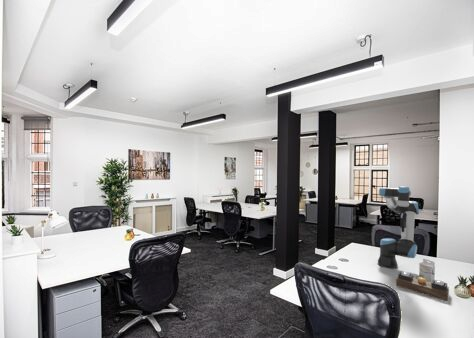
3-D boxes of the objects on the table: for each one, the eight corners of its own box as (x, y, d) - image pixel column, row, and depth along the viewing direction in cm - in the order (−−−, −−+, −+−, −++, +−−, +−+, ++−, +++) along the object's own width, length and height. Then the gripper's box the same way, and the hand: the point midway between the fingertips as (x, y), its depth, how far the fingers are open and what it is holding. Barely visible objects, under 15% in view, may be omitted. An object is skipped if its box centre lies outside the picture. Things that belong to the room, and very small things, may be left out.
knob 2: (434, 285, 167) (434, 279, 167) (444, 287, 163) (444, 281, 163) (434, 287, 163) (434, 281, 163) (443, 289, 160) (443, 283, 160)
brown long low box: (399, 280, 184) (400, 270, 184) (448, 294, 164) (448, 282, 164) (396, 285, 175) (396, 274, 175) (447, 300, 156) (447, 288, 156)
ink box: (418, 277, 190) (418, 258, 191) (422, 276, 192) (422, 258, 193) (431, 282, 182) (431, 262, 183) (435, 281, 184) (435, 261, 185)
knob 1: (402, 276, 180) (402, 270, 180) (410, 278, 176) (410, 273, 176) (400, 278, 176) (400, 272, 176) (408, 280, 173) (408, 274, 173)
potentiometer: (418, 280, 173) (418, 276, 173) (426, 282, 170) (426, 278, 170) (417, 282, 170) (417, 277, 170) (425, 284, 167) (425, 279, 167)
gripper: (407, 207, 185) (407, 238, 184) (410, 205, 194) (410, 235, 193) (395, 206, 190) (395, 236, 189) (399, 204, 199) (399, 233, 199)
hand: (403, 235), depth 191 cm, fingers closed
